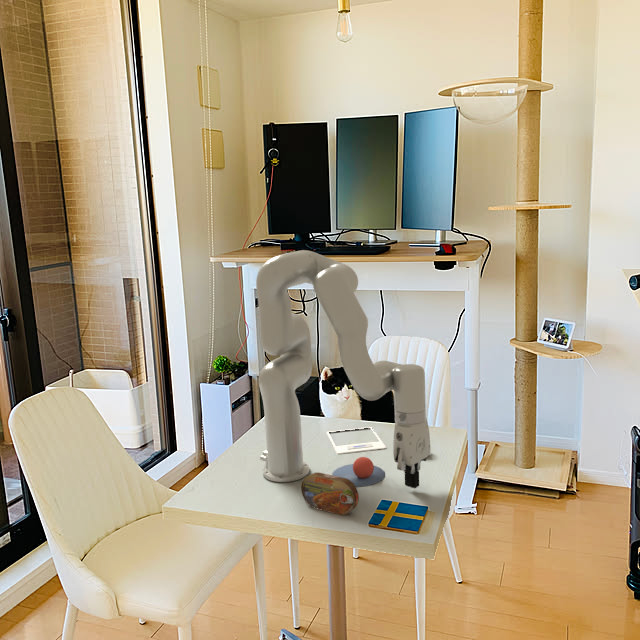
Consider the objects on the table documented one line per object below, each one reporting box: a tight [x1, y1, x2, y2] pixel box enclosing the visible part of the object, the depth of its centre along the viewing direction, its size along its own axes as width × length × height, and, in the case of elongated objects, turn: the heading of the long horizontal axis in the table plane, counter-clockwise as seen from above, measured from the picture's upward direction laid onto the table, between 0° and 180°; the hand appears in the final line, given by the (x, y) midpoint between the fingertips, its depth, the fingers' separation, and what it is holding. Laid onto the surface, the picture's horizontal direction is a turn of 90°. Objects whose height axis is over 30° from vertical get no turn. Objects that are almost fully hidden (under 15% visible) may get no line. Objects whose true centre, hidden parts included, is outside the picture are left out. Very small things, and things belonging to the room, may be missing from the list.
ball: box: [352, 456, 375, 478], centre depth 171 cm, size 6×6×6 cm
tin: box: [300, 472, 360, 516], centre depth 154 cm, size 15×3×8 cm, turn 56°
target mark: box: [331, 463, 385, 488], centre depth 173 cm, size 14×14×1 cm
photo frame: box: [325, 426, 387, 455], centre depth 197 cm, size 15×1×18 cm
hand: (412, 485), depth 161 cm, fingers closed
